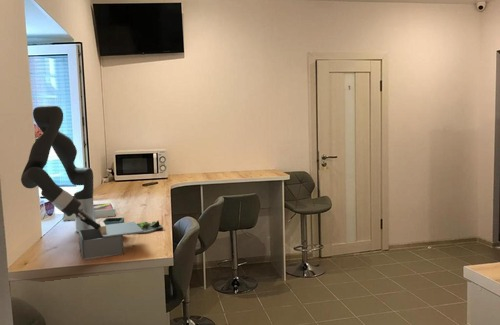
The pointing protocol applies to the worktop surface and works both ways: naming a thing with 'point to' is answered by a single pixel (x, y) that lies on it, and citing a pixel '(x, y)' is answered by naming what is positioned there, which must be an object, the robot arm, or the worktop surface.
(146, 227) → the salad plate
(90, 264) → the worktop surface
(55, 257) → the worktop surface
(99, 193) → the worktop surface
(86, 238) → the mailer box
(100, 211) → the product packaging
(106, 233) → the lid
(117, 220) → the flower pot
